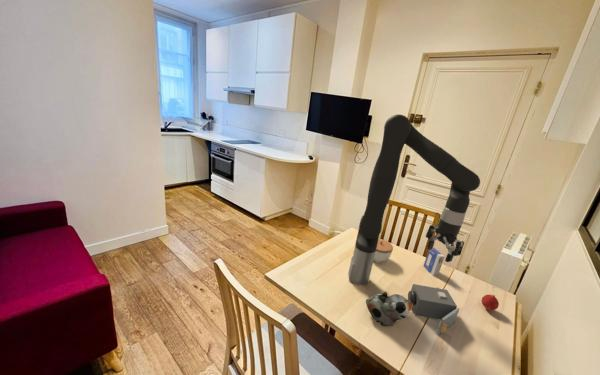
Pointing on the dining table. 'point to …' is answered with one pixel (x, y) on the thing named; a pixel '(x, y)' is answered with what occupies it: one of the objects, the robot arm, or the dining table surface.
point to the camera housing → (431, 302)
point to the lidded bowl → (383, 251)
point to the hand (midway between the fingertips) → (438, 255)
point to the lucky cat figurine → (388, 308)
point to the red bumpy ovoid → (490, 302)
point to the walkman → (433, 261)
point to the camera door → (447, 321)
